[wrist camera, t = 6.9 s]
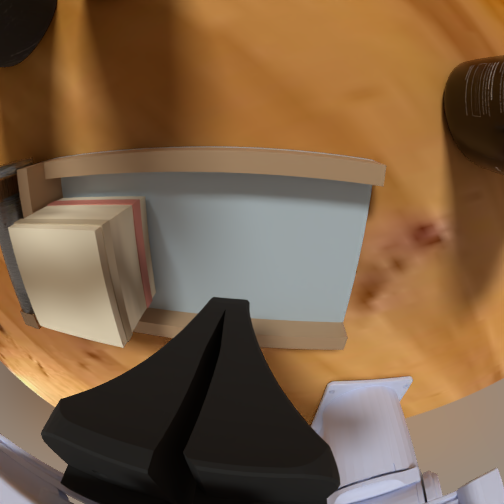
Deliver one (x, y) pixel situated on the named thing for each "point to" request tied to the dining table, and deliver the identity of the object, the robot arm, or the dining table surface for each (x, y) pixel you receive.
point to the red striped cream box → (87, 265)
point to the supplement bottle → (478, 111)
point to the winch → (3, 216)
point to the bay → (234, 230)
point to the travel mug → (22, 27)
